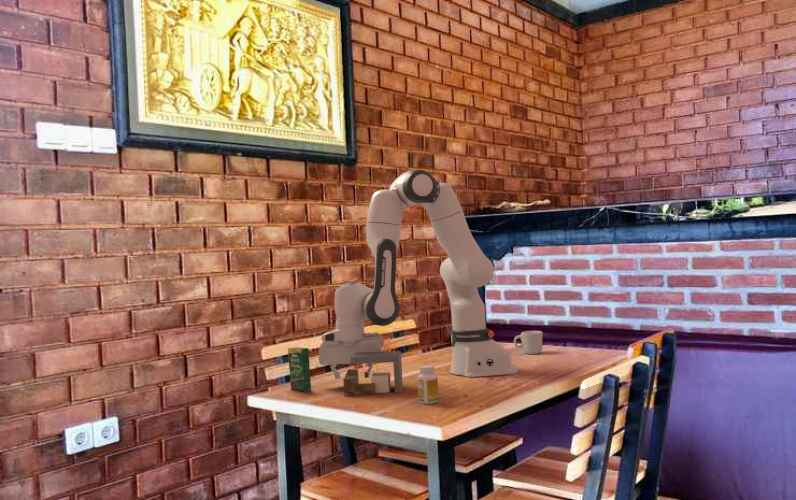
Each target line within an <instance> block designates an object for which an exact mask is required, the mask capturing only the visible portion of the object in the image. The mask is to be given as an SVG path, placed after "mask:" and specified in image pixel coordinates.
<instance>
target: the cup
mask: <svg viewBox="0 0 796 500" xmlns="http://www.w3.org/2000/svg"><path fill="white" fill-rule="evenodd" d="M543 333H544V332H543V331H541V330H525V331H522V332H521V333H520V335H519V334H518V335H516V336H515V337H514V338H513V345H514V346H515V347H516V349H517V348H518V349H523V352H524V353H525V354H526V353H527V354H526V355H538V353H539V354H541V353H542V351H543V335H544V334H543ZM518 339H520V341H521V344H520V345H518V343H517V340H518Z"/></svg>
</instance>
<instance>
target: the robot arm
mask: <svg viewBox="0 0 796 500" xmlns="http://www.w3.org/2000/svg"><path fill="white" fill-rule="evenodd" d="M419 205H421V206H423V207H424V209H425V211H426V212H427V214H428V217H429V221H430V223H431V227H432V229H433V232H434V235H435V238H436V240H437V242H438V243H437V244H438V245H439V246H440V247H441V248H442V249H443V250H444V251H445V253H446V254H447V256H448V257H447V258H445V259H444V260H443V261H442V262H441V264H440V266H439V274H440V277H441V279H442V281H443V282H444V285H445V288H446V292H447V295H448V300H449V303H450V311H451V312H450V313H451V326H452V328H451V330H450V331H451V332H450V338H451V340H450V341H451V342H450V343H451V346H452V357H451V366H450V370H449V373H450V374H453V375H456V376H464V377H469V378H473V377H475V378H476V377H478V378H479V377H489V376H490V377H491V376H503V375H505V376H506V375H515V374H518V372H520V369H519V366H518V365H517V364H514V363H512V357H511V355H510V352H509V351H508V350H507V349H506V347H504V346H502V345H500V344H499V343H498V342H497V341H495V340H494V339H493V338H494V336H495V331H493V330H491V329H489V328H487V325H486V324H487V323H486V308H485V307H486V306H485V303H484V302H483V300H482V299H481V296H480V294H479V289H478V288H481V287H483V286H486V285H488V284H489V283H490V282H491V281H492V279H493V278H494V274H495V267H494V265H493V262H492V261H491V260H490V259H489V258H488V257H487V256H486V255H485V254H484V252H483V251H482V249H481V248H480V246H479V245H478V243H477V241H476V240H475V238H474V236H473V234H472V232H471V230H470V228H469V225H468V223H467V220H466V219H467V218H466V217H465V213H464V211H463V208H462V205H461V203H460V201H459V199H458V197H457V194H456V192H455V191H454V189H453V188H452V186H451V185H450V184H449V183H447V182H439V181H437V179H435V177H434V176H433V175H432V174H431V173H429V172H428V171H426V170H424V169H419V168H418V169H413V170H412V169H411V170H409V171H406V172H403V173H401V174H400V175H398V176H397V177H395V178H394V179H393V180H392V182H391V183H390V184H389V186H388V187H387V189H386V188H384V189H379V190H376V191H375V192H374V193H373V194H372V196H371V199H370V203H369V206H368V210H367V217H366V227H365V233H366V234H365V237H366V245H367V246H368V248H369V250H370V251H371V253H372V255H373V258H374V262H375V264H374V284H373V288H370V287H368V286H367V285H364V284H361V282H360V281H356V280H355V281H349V282H345V283H341V284H340V285H338V286H337V287H336V288H335V291H334V313H335V317H336V321H335V329H332V330H330V331H327V332H324V333H323V334H322V335H321V344H320V345H319V347H318V348H319V351H318V362H319V364H320V365H322V366H323V365H324V366H329V365H330V370H331V371H332V372H333V374H334V379H335V380H337V379H341V372H338V370H337V369H336V368H337V365H351V356H352V355H353V354H354V353H360V352H384V348H383V346H384V344H385V341H384V336H383V335H382V334H380V333H378V332H374V333H373V332H372V333H371V332H365V321H370V322H372V324H374V325H375V326H379V327H386V326H389V325H391V324H393V323H394V322H395V321H396V320H397V319H398V317H399V314H400V308H401V307H400V303H399V300H398V297H397V292H396V272H397V255H398V250H399V248H398V247H399V243H400V238H401V232H402V216H403V213H404V211H405V209H406V208H409V207H414V206H415V207H416V206H419ZM362 364H364V365H365V363H362ZM373 366H374V363H367V368H368V369H367V370H366V371H364V372H363V373H364V379H369V378H371V371H372V368H373Z"/></svg>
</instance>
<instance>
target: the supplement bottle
mask: <svg viewBox="0 0 796 500" xmlns="http://www.w3.org/2000/svg"><path fill="white" fill-rule="evenodd" d="M419 372H420V373H419V374H418V375H417V389H418V390H417V391H418V401H419V403H420V404H424V405H429V404H431V405H432V404H436V403H438V402H439V401H440V398H439V382H438V374H437V373H435V366H434V365H432V364H424V365H420V366H419Z"/></svg>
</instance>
